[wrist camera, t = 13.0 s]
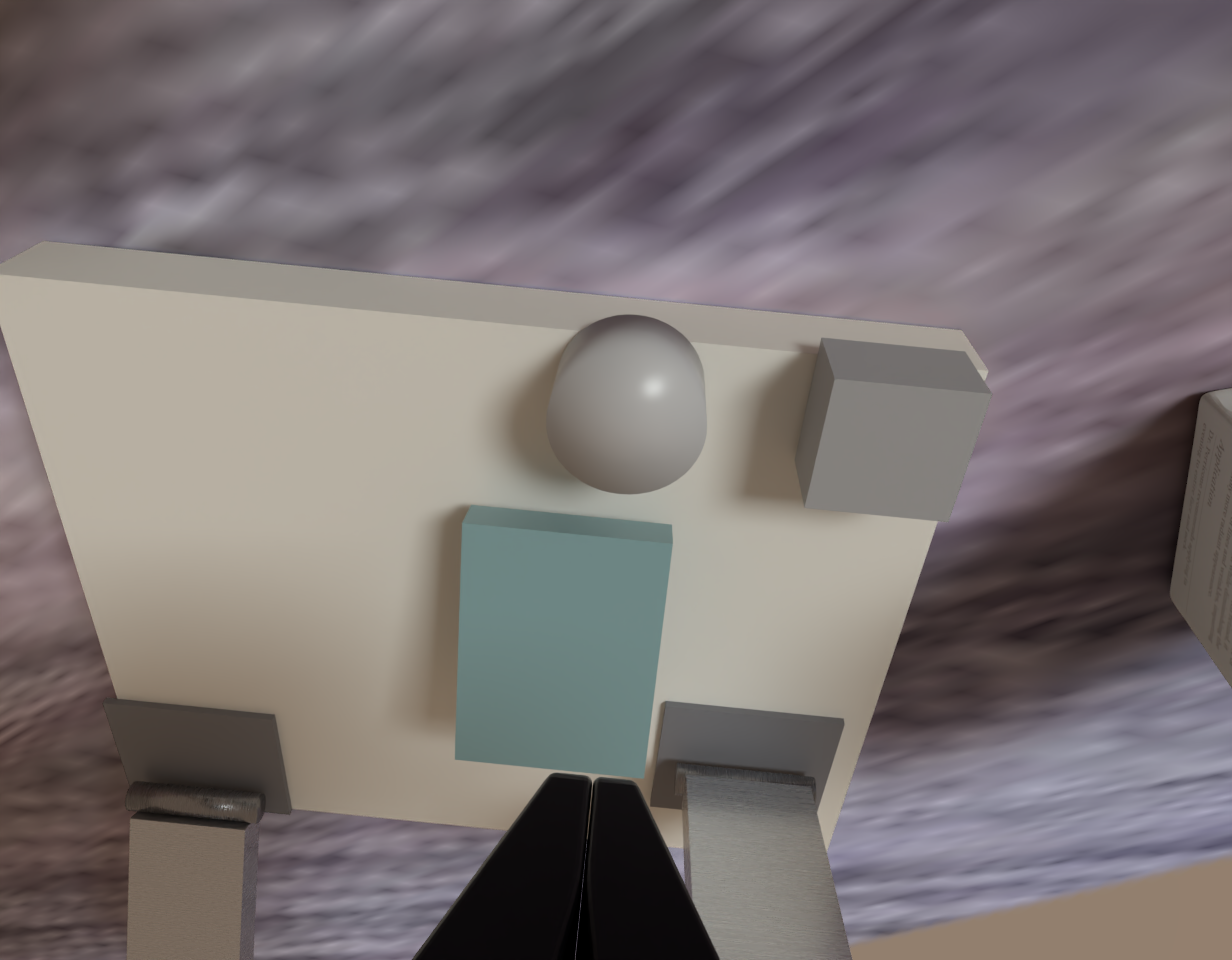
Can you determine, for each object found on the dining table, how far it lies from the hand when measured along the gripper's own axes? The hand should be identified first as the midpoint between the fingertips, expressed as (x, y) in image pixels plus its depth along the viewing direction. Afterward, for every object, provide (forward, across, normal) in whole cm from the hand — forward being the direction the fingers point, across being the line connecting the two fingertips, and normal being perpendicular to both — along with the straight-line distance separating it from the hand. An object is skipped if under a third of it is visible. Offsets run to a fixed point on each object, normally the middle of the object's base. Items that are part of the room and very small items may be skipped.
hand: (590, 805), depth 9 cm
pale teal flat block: (+10, -1, -7) cm, 12 cm away
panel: (+13, -3, -8) cm, 16 cm away
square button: (+11, +5, -1) cm, 12 cm away
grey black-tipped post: (+10, +4, -12) cm, 16 cm away
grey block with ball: (+10, -11, -15) cm, 21 cm away
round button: (+11, 0, -1) cm, 11 cm away
